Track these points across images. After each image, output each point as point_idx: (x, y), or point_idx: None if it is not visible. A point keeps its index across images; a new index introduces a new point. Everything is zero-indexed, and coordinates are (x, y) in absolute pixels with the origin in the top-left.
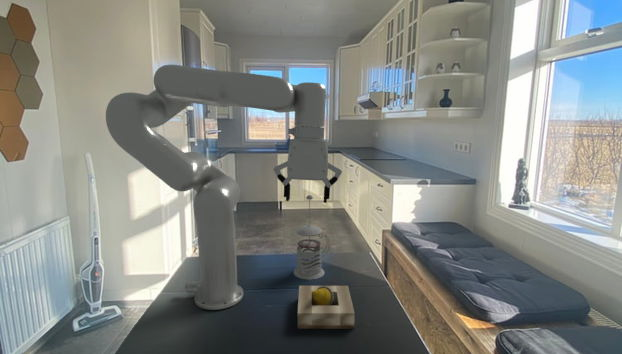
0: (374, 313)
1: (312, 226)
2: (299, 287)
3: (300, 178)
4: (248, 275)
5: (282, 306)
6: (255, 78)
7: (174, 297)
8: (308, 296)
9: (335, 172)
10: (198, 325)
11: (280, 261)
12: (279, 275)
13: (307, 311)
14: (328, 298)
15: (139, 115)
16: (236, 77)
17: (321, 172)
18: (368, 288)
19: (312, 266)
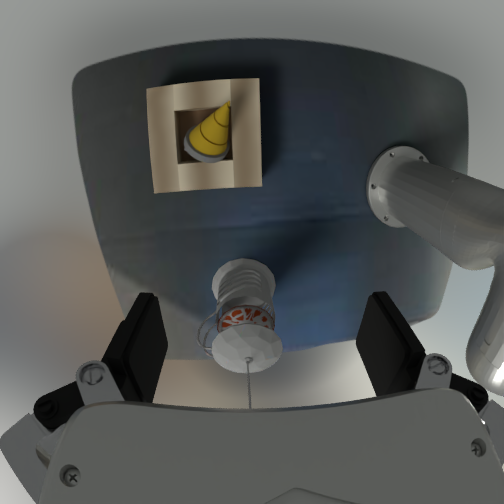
0: (117, 143)
1: (238, 359)
2: (260, 178)
3: (362, 402)
4: (360, 266)
5: (291, 152)
6: None
7: None
8: (239, 140)
9: (32, 451)
10: (412, 108)
11: (302, 323)
12: (303, 271)
13: (239, 84)
14: (194, 128)
15: None
16: None
17: (98, 468)
18: (125, 230)
19: (237, 301)
